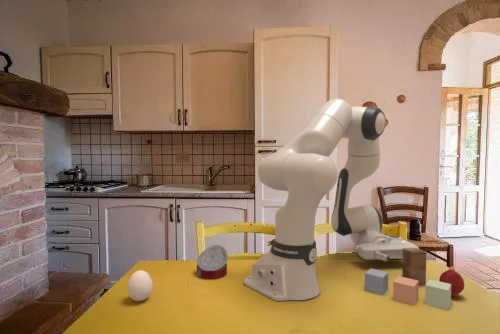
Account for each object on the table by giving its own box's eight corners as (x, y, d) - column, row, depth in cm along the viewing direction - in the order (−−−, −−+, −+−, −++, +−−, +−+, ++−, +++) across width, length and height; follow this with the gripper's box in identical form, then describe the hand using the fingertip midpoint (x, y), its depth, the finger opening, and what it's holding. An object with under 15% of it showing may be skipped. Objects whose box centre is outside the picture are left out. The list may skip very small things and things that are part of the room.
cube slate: (364, 290, 89) (364, 273, 89) (370, 284, 93) (370, 268, 93) (382, 295, 86) (382, 277, 86) (388, 289, 90) (388, 272, 90)
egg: (138, 308, 79) (137, 277, 79) (122, 302, 82) (121, 272, 82) (157, 298, 84) (157, 269, 84) (141, 292, 88) (141, 265, 87)
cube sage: (425, 304, 81) (425, 285, 81) (429, 297, 85) (429, 279, 85) (447, 310, 78) (448, 290, 78) (450, 302, 82) (451, 284, 81)
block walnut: (402, 280, 96) (402, 248, 96) (415, 279, 97) (416, 247, 96) (411, 286, 92) (412, 252, 91) (425, 285, 92) (426, 252, 92)
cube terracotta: (393, 300, 83) (393, 281, 83) (398, 293, 87) (398, 276, 87) (413, 305, 80) (414, 286, 80) (418, 298, 84) (418, 280, 84)
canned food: (227, 286, 103) (239, 263, 100) (202, 292, 96) (213, 267, 93) (211, 262, 111) (221, 240, 107) (186, 266, 104) (196, 242, 101)
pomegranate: (468, 301, 82) (469, 271, 82) (444, 299, 83) (444, 270, 83) (458, 292, 88) (458, 264, 87) (435, 290, 89) (436, 262, 89)
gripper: (351, 238, 113) (370, 249, 99) (404, 236, 115) (430, 247, 101) (351, 255, 113) (370, 269, 99) (404, 253, 115) (429, 266, 101)
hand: (401, 258), depth 100 cm, fingers open, 8 cm apart
